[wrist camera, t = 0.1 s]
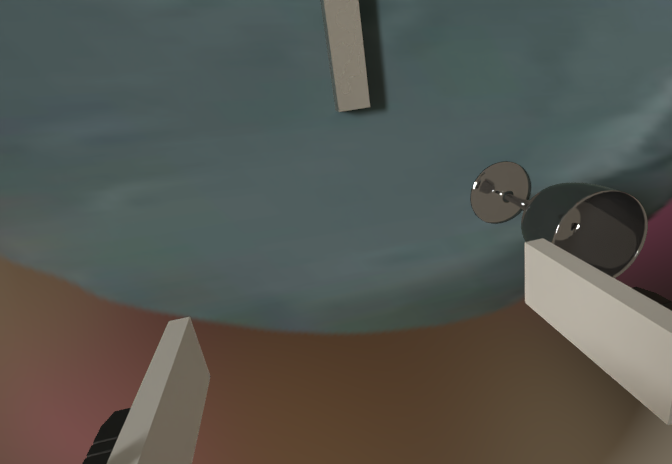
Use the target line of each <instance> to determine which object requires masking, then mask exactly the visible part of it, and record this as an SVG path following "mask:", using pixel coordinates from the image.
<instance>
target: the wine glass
mask: <svg viewBox="0 0 672 464" xmlns="http://www.w3.org/2000/svg"><path fill="white" fill-rule="evenodd" d="M530 192H531V183H530V179H529V176H528V174H527V172H526V171H525V170H524V168H522V167H521V166H520V165H518V164H516V163H513V162H506V161H504V162H498V163H495V164H493V165H491V166H489V167H487V168H486V169H485V170H484V171H483V172H482V173H480V175H479V176H478V177H477V179H476V180H475V182H474V184H473V187H472V190H471V206H472V209H473V211H474V213H475V214H476V215H477V216H478V217H479V218H480V219H481V220H483V221H485V222H487V223H492V224H498V223H503V222H506V221H509V220H511V219H513V218H514V217H515V216H517V215H518V214H519V213H520V212H521V211H522V210H523V211H524V212H523V216H522V222H521V230H522V235H523V238H524V240H525V242H528V241H533V240H537V239H542V238H543V239H545V240H547V241H549V242H551V243H552V244H554V245H556V246H558V247H559V248H561V249H563V250H565V251H567V252H568V253H570V254H572V255H574V256H575V257H577V258H579V259H581V260H582V261H584V262H586V263H588V264H590V265H591V266H593V267H595V268H597V269H598V270H600V271H602V272H604V273H606V274H607V275H609V276H611V277H613V278H616V277H617V276H619V275H620V274H621V273H623V272H624V271H625V270H626V269H627V268H628V267H629V266H630V265H631V264H632V263H633V262H634V261H635V259H636V258H637V256H638V255H639V253H640V251H641V249H642V247H643V245H644V242H645V239H646V235H647V228H648V221H647V216H646V212H645V210H644V208H643V206H642V205H641V203H640V202H639V201H638V200H637V199H636V198H635V197H633V196H631V195H629V194H627V193H625V192H622V191H619V190H616V189H612V188H608V187H604V186H600V185H596V184H588V183H561V184H555V185H552V186H549V187H547V188H545V189H543V190H542V191H540V192H539V193H538V194H536V195H535V196H534V197H533V198H532V199H531V200H528V199H529V196H530Z"/></svg>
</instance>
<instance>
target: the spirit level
mask: <svg viewBox="0 0 672 464" xmlns="http://www.w3.org/2000/svg"><path fill="white" fill-rule="evenodd" d="M320 2H321V9H322V16H323V23H324V30H325V38H326V45H327V52H328V59H329V66H330V74H331V81H332V88H333V95H334V102H335V109H336V111H338V112H343V111H349V110H355V109H361V108H367V107H370V100H369V91H368V82H367V73H366V64H365V55H364V46H363V37H362V28H361V19H360V10H359V1H358V0H320Z"/></svg>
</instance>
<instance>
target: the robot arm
mask: <svg viewBox="0 0 672 464" xmlns="http://www.w3.org/2000/svg"><path fill="white" fill-rule="evenodd" d="M525 303H526V304H527V305H529V306H530V307H531V308H532V309H533V310H534V311H535V312H537V313H538V314H539V315H540V316H541V317H542V318H544V319H545V320H546V321H547V322H548V323H549V324H551V325H552V326H553V327H554V328H555V329H556V330H558V331H559V332H560V333H561V334H562V335H563V336H565V337H566V338H567V339H568V340H569V341H571V342H572V343H573V344H574V345H575V346H576V347H577V348H579V349H580V350H581V351H582V352H583V353H584V354H586V355H587V356H588V357H589V358H590V359H591V360H593V361H594V362H595V363H596V364H597V365H598V366H600V367H601V368H602V369H603V370H604V371H605V372H606V373H608V374H609V375H610V376H611V377H612V378H613V379H615V380H616V381H617V382H618V383H619V384H620V385H622V386H623V387H624V388H625V389H626V390H627V391H629V392H630V393H631V394H632V395H633V396H634V397H636V398H637V399H638V400H639V401H640V402H641V403H643V404H644V405H645V406H646V407H647V408H648V409H650V410H651V411H652V412H653V413H654V414H656V415H657V416H658V417H659V418H660V419H661V420H662V421H664V422H665V423H666V424H667V425H671V424H672V302H671V301H670V300H668V299H666V298H664V297H662V296H660V295H659V294H657V293H654V292H651V291H648V290H645V289H641V288H638V287H634V288H630V287H629V286H627V285H625V284H623V283H621V282H620V281H618V280H616V279H614V278H613V277H611V276H609V275H607V274H606V273H604V272H602V271H600V270H598V269H597V268H595V267H593V266H591V265H590V264H588V263H586V262H584V261H582V260H581V259H579V258H577V257H575V256H574V255H572V254H570V253H568V252H567V251H565V250H563V249H561V248H559V247H558V246H556V245H554V244H552V243H551V242H549V241H547V240H545V239H543V238H542V239H537V240H533V241H528V242H525ZM209 380H210V374H209V371H208V368H207V366H206V363H205V359H204V357H203V354H202V351H201V348H200V345H199V342H198V339H197V337H196V333H195V331H194V328H193V325H192V322H191V319H190V317H186V318H182V319H177V320H173V321H169V322H168V324H167V327H166V329H165V331H164V334H163V336H162V338H161V340H160V343H159V345H158V347H157V350H156V352H155V354H154V357H153V359H152V361H151V363H150V366H149V368H148V370H147V372H146V375H145V377H144V379H143V382H142V384H141V386H140V388H139V391H138V393H137V395H136V398H135V400H134V402H133V404H132V407H131V408H128V409H124V410H119V411H115V412H114V413H113V414H112V415H111V416H110V417H109V419H108V420H107V421H106V422H105V423H104V424H103V425H102V426H101V428H100V430H99V432H98V434H97V436H96V438H95V440H94V442H93V445H92V446H91V448H90V450H89V452H88V454H87V458H86V459H85V460H84V462H83V464H192V460H193V456H194V451H195V446H196V442H197V437H198V432H199V428H200V423H201V418H202V413H203V408H204V404H205V399H206V394H207V389H208V384H209Z"/></svg>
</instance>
